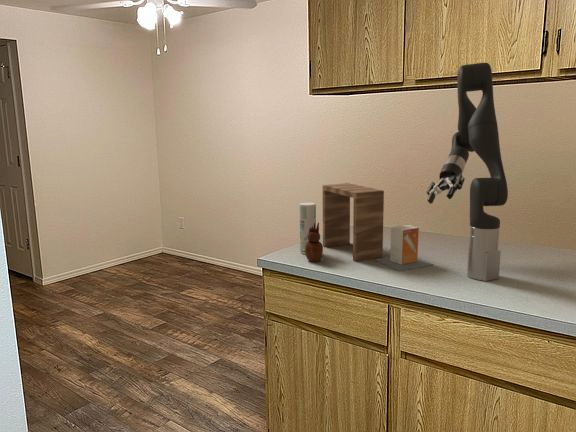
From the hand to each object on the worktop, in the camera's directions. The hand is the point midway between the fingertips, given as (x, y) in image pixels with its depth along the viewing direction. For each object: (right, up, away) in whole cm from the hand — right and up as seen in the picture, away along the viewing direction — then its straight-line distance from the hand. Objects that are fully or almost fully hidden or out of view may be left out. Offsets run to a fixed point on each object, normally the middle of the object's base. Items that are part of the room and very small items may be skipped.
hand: (438, 199), depth 180 cm
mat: (-12, -23, +3) cm, 26 cm away
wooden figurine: (-45, -23, +8) cm, 51 cm away
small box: (-12, -23, +3) cm, 26 cm away
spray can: (-47, -21, +19) cm, 55 cm away
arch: (-30, -20, +19) cm, 40 cm away
